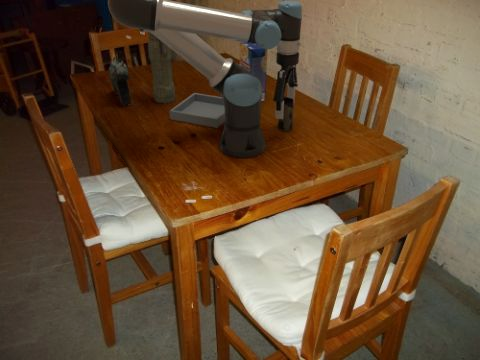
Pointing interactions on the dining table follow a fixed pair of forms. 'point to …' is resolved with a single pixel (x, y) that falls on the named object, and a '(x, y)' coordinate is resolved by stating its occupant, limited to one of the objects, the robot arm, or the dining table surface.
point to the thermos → (161, 70)
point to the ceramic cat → (120, 80)
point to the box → (200, 110)
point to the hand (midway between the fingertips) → (284, 110)
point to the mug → (287, 115)
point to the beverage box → (255, 63)
